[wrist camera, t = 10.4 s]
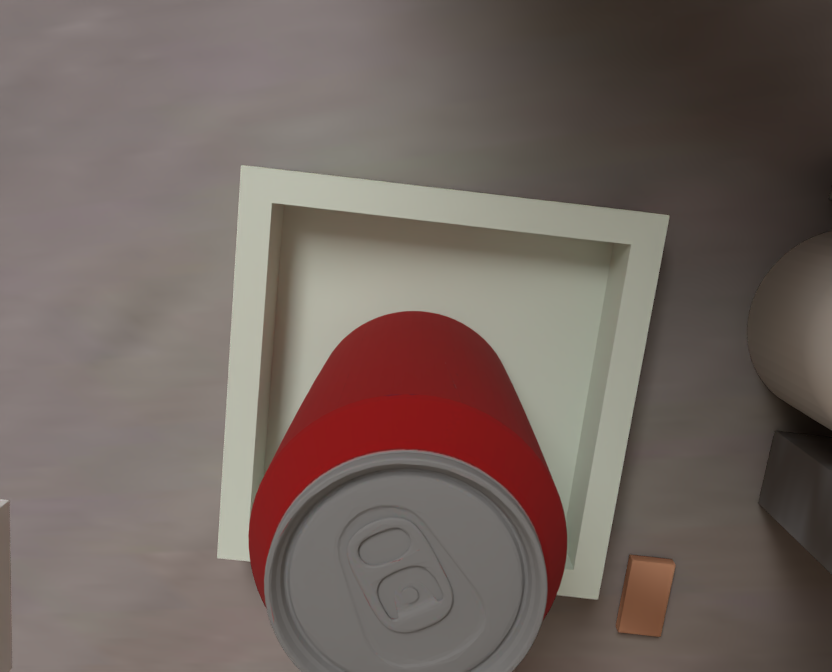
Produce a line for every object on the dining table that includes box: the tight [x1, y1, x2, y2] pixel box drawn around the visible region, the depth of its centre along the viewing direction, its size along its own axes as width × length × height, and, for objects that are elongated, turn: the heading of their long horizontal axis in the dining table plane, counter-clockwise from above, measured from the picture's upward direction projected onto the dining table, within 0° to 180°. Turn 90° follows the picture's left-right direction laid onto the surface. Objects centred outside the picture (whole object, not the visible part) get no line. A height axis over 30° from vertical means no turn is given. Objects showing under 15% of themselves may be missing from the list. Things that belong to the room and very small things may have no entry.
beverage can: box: [248, 311, 567, 672], centre depth 19 cm, size 7×7×12 cm
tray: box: [217, 165, 670, 600], centre depth 24 cm, size 13×13×2 cm
